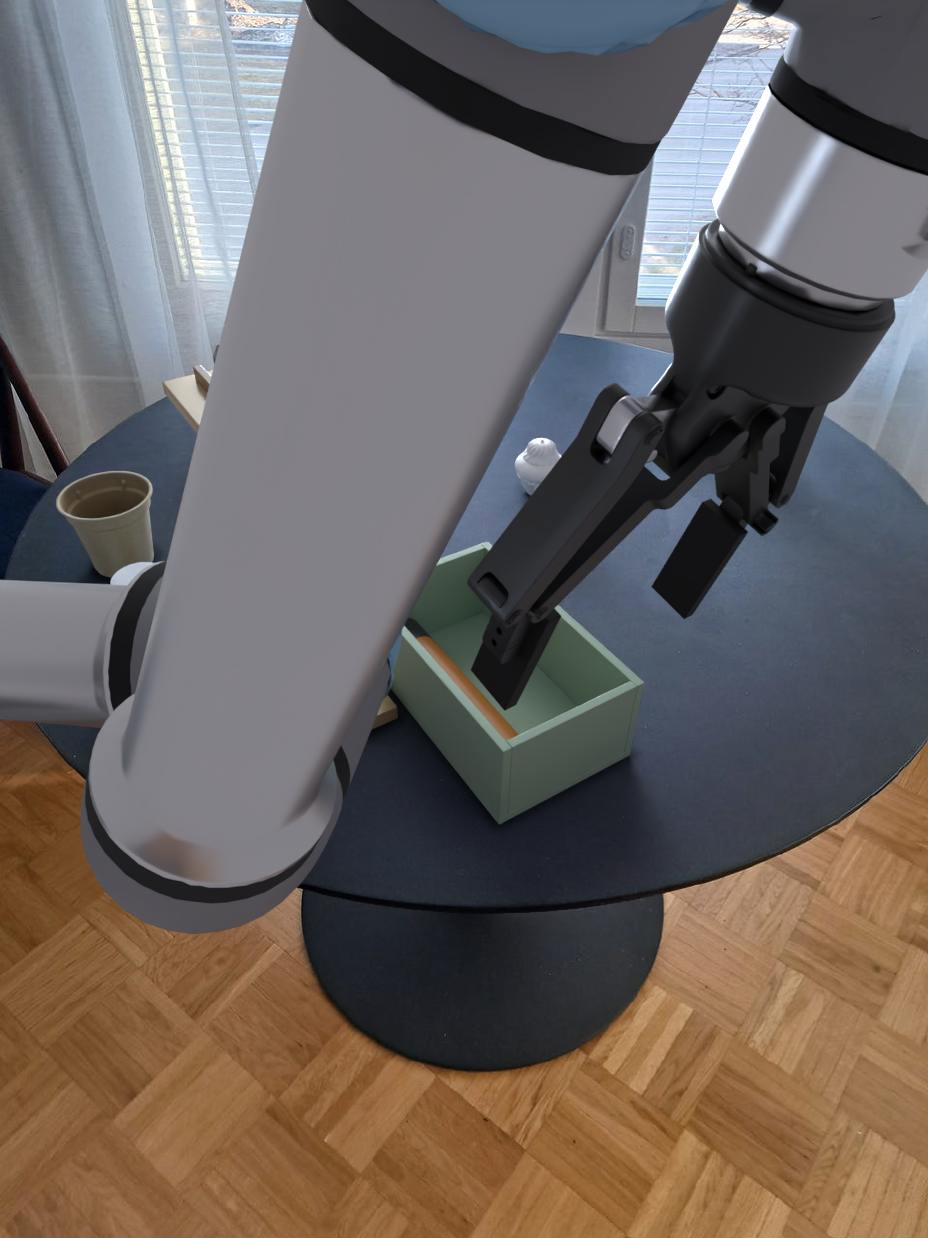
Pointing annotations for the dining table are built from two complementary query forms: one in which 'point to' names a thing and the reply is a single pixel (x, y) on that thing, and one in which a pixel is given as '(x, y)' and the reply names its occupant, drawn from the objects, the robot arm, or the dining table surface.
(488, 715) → the orange brown cylinder
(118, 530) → the flower pot
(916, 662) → the dining table surface
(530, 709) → the bin
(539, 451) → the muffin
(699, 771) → the dining table surface
